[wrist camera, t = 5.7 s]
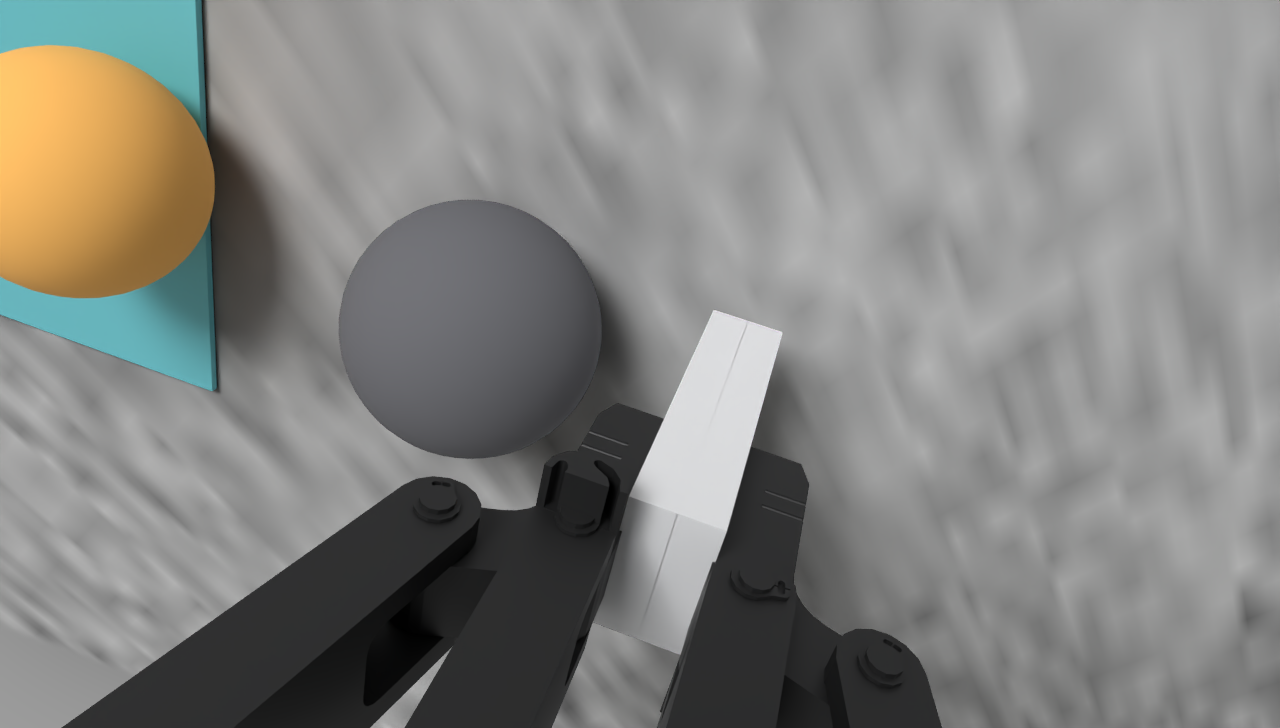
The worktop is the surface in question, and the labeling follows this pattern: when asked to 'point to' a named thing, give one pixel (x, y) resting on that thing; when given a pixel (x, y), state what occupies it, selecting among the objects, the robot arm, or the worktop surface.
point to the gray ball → (470, 329)
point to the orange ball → (95, 174)
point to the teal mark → (183, 299)
